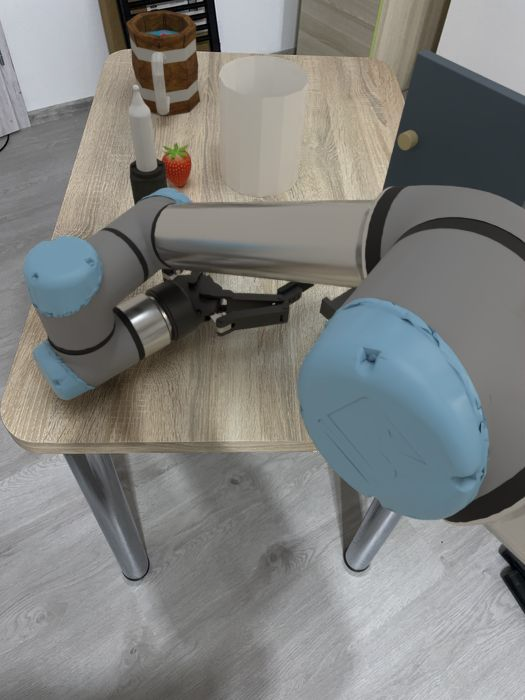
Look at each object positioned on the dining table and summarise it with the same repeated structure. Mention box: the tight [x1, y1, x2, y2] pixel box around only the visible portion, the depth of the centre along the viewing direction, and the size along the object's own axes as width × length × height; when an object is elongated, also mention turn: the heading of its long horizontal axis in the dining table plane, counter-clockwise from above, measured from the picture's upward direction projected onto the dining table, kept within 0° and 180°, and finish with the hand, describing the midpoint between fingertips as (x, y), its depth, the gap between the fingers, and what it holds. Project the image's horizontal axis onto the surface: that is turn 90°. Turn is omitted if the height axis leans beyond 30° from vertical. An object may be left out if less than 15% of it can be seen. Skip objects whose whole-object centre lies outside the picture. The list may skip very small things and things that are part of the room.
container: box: [218, 54, 310, 198], centre depth 93 cm, size 14×14×18 cm
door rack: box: [319, 49, 525, 321], centre depth 61 cm, size 14×16×36 cm
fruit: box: [161, 141, 193, 187], centre depth 94 cm, size 5×5×8 cm
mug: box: [125, 9, 201, 117], centre depth 108 cm, size 20×14×15 cm
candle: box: [127, 84, 169, 206], centre depth 78 cm, size 5×5×25 cm
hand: (281, 250), depth 78 cm, fingers open, 13 cm apart
